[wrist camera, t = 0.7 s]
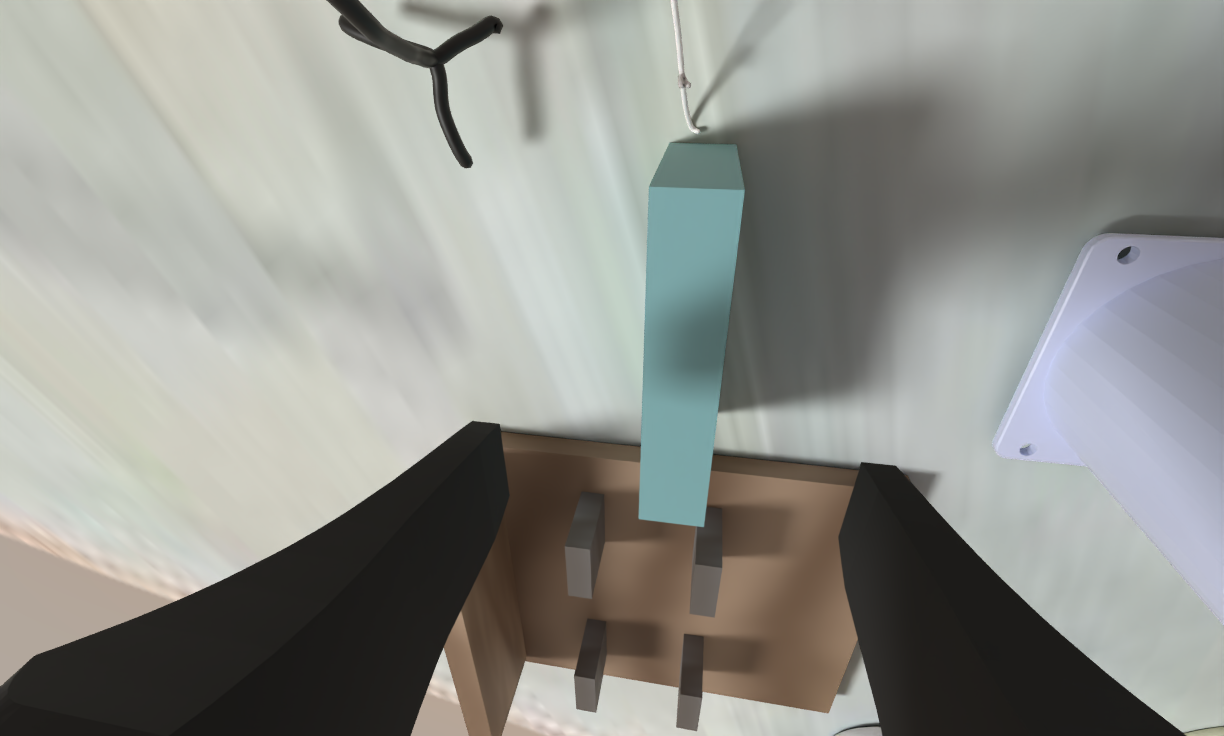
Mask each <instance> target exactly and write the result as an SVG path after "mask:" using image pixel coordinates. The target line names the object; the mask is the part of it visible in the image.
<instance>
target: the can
mask: <svg viewBox="0 0 1224 736" xmlns="http://www.w3.org/2000/svg"><path fill="white" fill-rule="evenodd" d="M1184 734H1185V735H1186V736H1224V727H1216V728H1209V729H1202V730H1197V731H1193V732H1188V733H1184Z"/></svg>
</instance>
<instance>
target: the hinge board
mask: <svg viewBox="0 0 1224 736" xmlns="http://www.w3.org/2000/svg"><path fill="white" fill-rule="evenodd" d="M501 437H502V444H503V451H504V458H505V465H506V473H507V480H508V487H509V494H510V496H509V500H508V503H507V506H506V509H505V512H504V515H503V518H502V521H501V524H500V527H499V530H498V533H497V536H496V538H495V541H494V543H493V545H492V547H491V549H490V552H489V554H488V556H487V558H486V560H485V562H484V564H483V566H482V568H481V570H480V572H479V575H478V577H477V579H476V581H475V583H474V585H473V587H472V589H471V591H470V593H469V595H468V597H467V599H466V601H465V603H464V605H463V607H462V610H461V612H460V614H459V616H458V618H457V620H456V622H455V624H454V626H453V628H452V630H451V632H450V634H449V636H448V639H447V641H446V643H445V645H444V650H445V653H446V657H447V660H448V664H449V667H450V671H451V674H452V678H453V681H454V685H455V688H456V692H457V695H458V699H459V702H460V706H461V709H462V713H463V716H464V720H465V723H466V727H467V730H468V733H469V736H502V732H503V729H504V726H505V723H506V720H507V717H508V714H509V710H510V707H511V704H512V701H513V698H514V695H515V691H516V688H517V685H518V682H519V679H520V675H521V672H522V669H523V666H524V663H525V661H528V662H533V663H539V664H545V665H551V666H557V667H562V668H568V669H574V670H575V674H574V681H575V695H576V708H577V709H579V710H585V711H590V712H595V713H596V710H597V705H598V700H599V694H600V689H601V683H602V678H603V675H609V676H615V677H620V678H626V679H632V680H638V681H644V682H649V683H655V684H661V685H667V686H673V687H678V688H679V694H678V709H677V725H676V727H677V728H683V729H688V730H694V731H697V728H698V721H699V715H700V709H701V702H702V692H707V693H713V694H719V695H725V696H731V697H736V698H742V699H748V700H754V701H760V702H765V703H771V704H777V705H783V706H789V707H794V708H800V709H806V710H812V711H818V712H823V713H829V711H830V708H831V706H832V703H833V701H834V698H835V696H836V693H837V691H838V688H839V686H840V683H841V681H842V678H843V676H844V673H845V670H846V668H847V665H848V663H849V660H850V658H851V655H852V653H853V650H854V648H855V645H856V643H857V640H858V637H857V634H856V630H855V626H854V622H853V618H852V614H851V610H850V607H849V603H848V599H847V595H846V591H845V586H844V579H843V572H842V565H841V557H840V548H839V540H838V536H839V533H840V529H841V526H842V523H843V520H844V517H845V513H846V510H847V507H848V504H849V501H850V497H851V494H852V491H853V488H854V485H855V481H856V478H857V475H858V472H859V470H852V469H842V468H833V467H824V466H814V465H805V464H796V463H787V462H777V461H768V460H759V459H749V458H740V457H731V456H722V455H713V456H712V464H711V472H710V481H709V489H708V497H707V505H706V513H705V522H704V527H698V526H690V525H682V524H674V523H666V522H658V521H650V520H642V519H639V491H640V459H641V447H638V446H629V445H619V444H610V443H601V442H592V441H582V440H573V439H564V438H554V437H545V436H536V435H527V434H517V433H508V432H501ZM905 476H906V477H907V478H908V480H909V481H910V479H909V477H908V476H907V475H905Z"/></svg>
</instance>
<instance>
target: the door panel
mask: <svg viewBox="0 0 1224 736" xmlns="http://www.w3.org/2000/svg"><path fill="white" fill-rule="evenodd" d="M744 193H745V188H744V183H743V178H742V172H741V167H740V161H739V156H738V151H737V145H736V144H701V143H669V145H668V147H667V150H666V152H665V154H664V156H663V158H662V160H661V162H660V164H659V167H658V169H657V171H656V173H655V175H654V177H653V179H652V181H651V184H650V186H649V202H648V234H647V266H646V298H645V330H644V362H643V394H642V426H641V459H640V491H639V519H642V520H650V521H658V522H666V523H674V524H682V525H690V526H698V527H704V522H705V513H706V505H707V497H708V489H709V481H710V472H711V464H712V456H713V448H714V439H715V431H716V423H717V415H718V407H719V398H720V390H721V382H722V374H723V365H724V357H725V349H726V341H727V333H728V324H729V316H730V308H731V300H732V291H733V283H734V275H735V267H736V258H737V250H738V242H739V234H740V226H741V217H742V209H743V201H744Z"/></svg>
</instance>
